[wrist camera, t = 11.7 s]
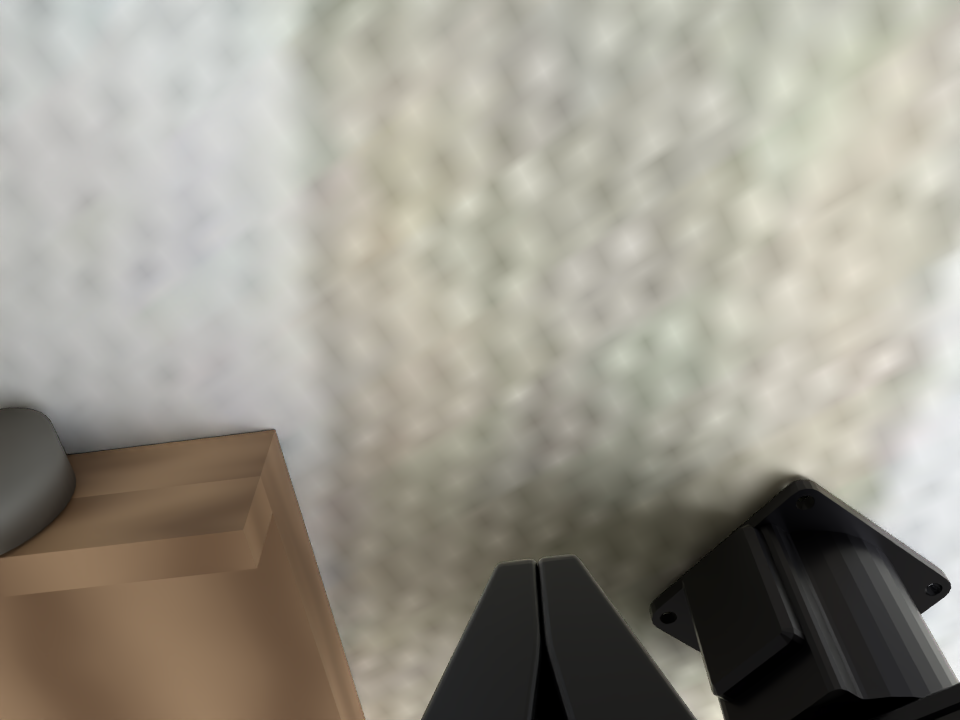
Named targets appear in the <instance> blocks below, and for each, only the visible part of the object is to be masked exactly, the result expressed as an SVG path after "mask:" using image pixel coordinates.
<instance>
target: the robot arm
mask: <svg viewBox="0 0 960 720" xmlns="http://www.w3.org/2000/svg"><path fill="white" fill-rule="evenodd" d="M803 496H808V498H806V499H804V500H801V501H797V500H798V499H799V498H801V497H803ZM931 584H932V585H931ZM929 585H930V586H929ZM950 589H951V583H950V582H949V580H948V578H947V577H946V575H945V574H944V572H943V571H942V570H941V569H939V568H938V567H936V566H935V565H933V564H932V563H931V562H929V561H928V560H926V559H925V558H923V557H922V556H920V555H919V554H918V553H916V552H915V551H913V550H912V549H910V548H909V547H907V546H906V545H905V544H903V543H902V542H900V541H899V540H897V539H896V538H894V537H893V536H892V535H890V534H889V533H887V532H886V531H884V530H883V529H881V528H880V527H878V526H877V525H876V524H874V523H873V522H871V521H870V520H868V519H867V518H865V517H864V516H863V515H861V514H860V513H858V512H857V511H855V510H854V509H852V508H851V507H850V506H848V505H847V504H845V503H844V502H842V501H841V500H839V499H838V498H837V497H835V496H834V495H832V494H831V493H829V492H828V491H826V490H825V489H823V488H822V487H821V486H819V485H818V484H816V483H815V482H813V481H810V480H798V481H794V482H793V483H791V484H790V485H788V486H787V487H786V488H785V489H783V490H782V491H781V492H780V493H779V494H778V495H776V496H775V497H774V498H773V499H772V500H771V501H769V502H768V503H767V504H766V505H765V506H764V507H763V508H761V509H760V510H759V511H758V512H757V513H756V514H754V515H753V516H752V517H751V518H750V519H749V520H747V521H746V522H745V523H744V524H743V525H742V526H740V527H739V528H738V529H737V530H736V531H735V532H733V533H732V534H731V535H730V536H729V537H728V538H726V539H725V540H724V541H723V542H722V543H721V544H719V545H718V546H717V547H716V548H715V549H714V550H712V551H711V552H710V553H709V554H708V555H707V556H705V557H704V558H703V559H702V560H701V561H700V562H698V563H697V564H696V565H695V566H694V567H693V568H691V569H690V570H689V571H688V572H687V573H686V574H684V575H683V576H682V577H681V578H680V579H679V580H678V581H676V582H675V583H674V584H673V585H672V586H671V587H669V588H668V589H667V590H666V591H665V592H664V593H662V594H661V595H660V596H659V597H658V598H657V599H655V600H654V601H653V603H652V604H651V605H650V614H651V618H652V622H653V624H654V625H655V626H656V627H657V628H659V629H661V630H663V631H664V632H666V633H668V634H670V635H671V636H673V637H675V638H677V639H678V640H680V641H682V642H684V643H685V644H687V645H689V646H691V647H692V648H694V649H696V650H698V651H699V652H701V654H702V658H703V661H704V665H705V668H706V672H707V676H708V679H709V683H710V686H711V690H712V692H713V694H714V695H716V696H718V700H719V703H720V707H721V710H722V714H723V717H724V720H960V683H959V681H958V679H957V678H956V676H955V674H954V672H953V671H952V669H951V667H950V665H949V664H948V662H947V660H946V658H945V657H944V655H943V653H942V651H941V649H940V648H939V646H938V644H937V642H936V641H935V639H934V637H933V635H932V634H931V632H930V630H929V628H928V627H927V625H926V623H925V621H924V620H923V618H922V616H921V614H922V613H923V612H925V611H926V610H927V609H929V608H930V607H931V606H933V605H934V604H936V603H937V602H938V601H940V600H941V599H942V598H944V597H945V596H946V595H947V594H948V593H949V591H950ZM665 612H671V613H669V614H663V613H665ZM421 720H697V719H696V718H695V716H694V715H693V714H692V712H691V711H690V710H689V708H688V707H687V705H686V704H685V703H684V701H683V700H682V699H681V697H680V696H679V694H678V693H677V692H676V690H675V689H674V688H673V686H672V685H671V683H670V682H669V681H668V679H667V678H666V677H665V675H664V674H663V672H662V671H661V670H660V668H659V667H658V666H657V664H656V663H655V661H654V660H653V659H652V657H651V656H650V655H649V653H648V652H647V650H646V649H645V648H644V646H643V645H642V644H641V642H640V641H639V640H638V638H637V637H636V635H635V634H634V633H633V631H632V630H631V629H630V627H629V626H628V624H627V623H626V622H625V620H624V619H623V618H622V616H621V615H620V613H619V612H618V611H617V609H616V608H615V607H614V605H613V604H612V602H611V601H610V600H609V598H608V597H607V596H606V594H605V593H604V591H603V590H602V589H601V587H600V586H599V585H598V583H597V582H596V580H595V579H594V578H593V576H592V575H591V574H590V572H589V571H588V569H587V568H586V567H585V565H584V564H583V563H582V561H581V560H580V559H579V558H578V557H577V556H576V555H574V554H566V555H557V556H548V557H542V558H541V559H539V561H538V566H537V563H536V562H535V560H533V559H521V560H512V561H504V562H500V563H499V564H497V566H496V567H495V569H494V571H493V573H492V575H491V577H490V579H489V581H488V583H487V585H486V587H485V589H484V591H483V593H482V595H481V597H480V599H479V601H478V603H477V606H476V608H475V610H474V612H473V614H472V616H471V618H470V620H469V622H468V624H467V626H466V628H465V630H464V632H463V634H462V636H461V638H460V641H459V643H458V645H457V647H456V649H455V651H454V653H453V655H452V657H451V659H450V661H449V663H448V665H447V667H446V669H445V671H444V673H443V676H442V678H441V680H440V682H439V684H438V686H437V688H436V690H435V692H434V694H433V696H432V698H431V700H430V702H429V704H428V706H427V708H426V711H425V713H424V715H423V717H422V719H421Z"/></svg>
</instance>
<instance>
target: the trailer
mask: <svg viewBox="0 0 960 720" xmlns="http://www.w3.org/2000/svg"><path fill="white" fill-rule="evenodd" d="M0 720H365V717H364V714H363V711H362V708H361V704H360V701H359V698H358V695H357V691H356V688H355V685H354V682H353V679H352V675H351V672H350V669H349V666H348V663H347V659H346V656H345V653H344V650H343V646H342V643H341V640H340V637H339V634H338V630H337V627H336V624H335V621H334V617H333V614H332V611H331V608H330V605H329V601H328V598H327V595H326V592H325V589H324V585H323V582H322V579H321V576H320V572H319V569H318V566H317V563H316V560H315V556H314V553H313V550H312V547H311V543H310V540H309V537H308V534H307V531H306V527H305V524H304V521H303V518H302V515H301V511H300V508H299V505H298V502H297V498H296V495H295V492H294V489H293V486H292V482H291V479H290V476H289V473H288V470H287V466H286V463H285V460H284V457H283V453H282V450H281V447H280V444H279V441H278V437H277V434H276V431H275V430H269V431H261V432H252V433H244V434H236V435H228V436H220V437H212V438H203V439H195V440H187V441H179V442H171V443H163V444H154V445H146V446H138V447H130V448H122V449H114V450H105V451H97V452H89V453H81V454H73V455H66V453H65V451H64V449H63V447H62V445H61V443H60V440H59V438H58V436H57V434H56V432H55V430H54V427H53V425H52V423H51V421H50V419H49V418H48V417H47V416H46V415H44V414H42V413H41V412H38V411H35V410H31V409H25V408H5V409H0Z"/></svg>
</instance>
